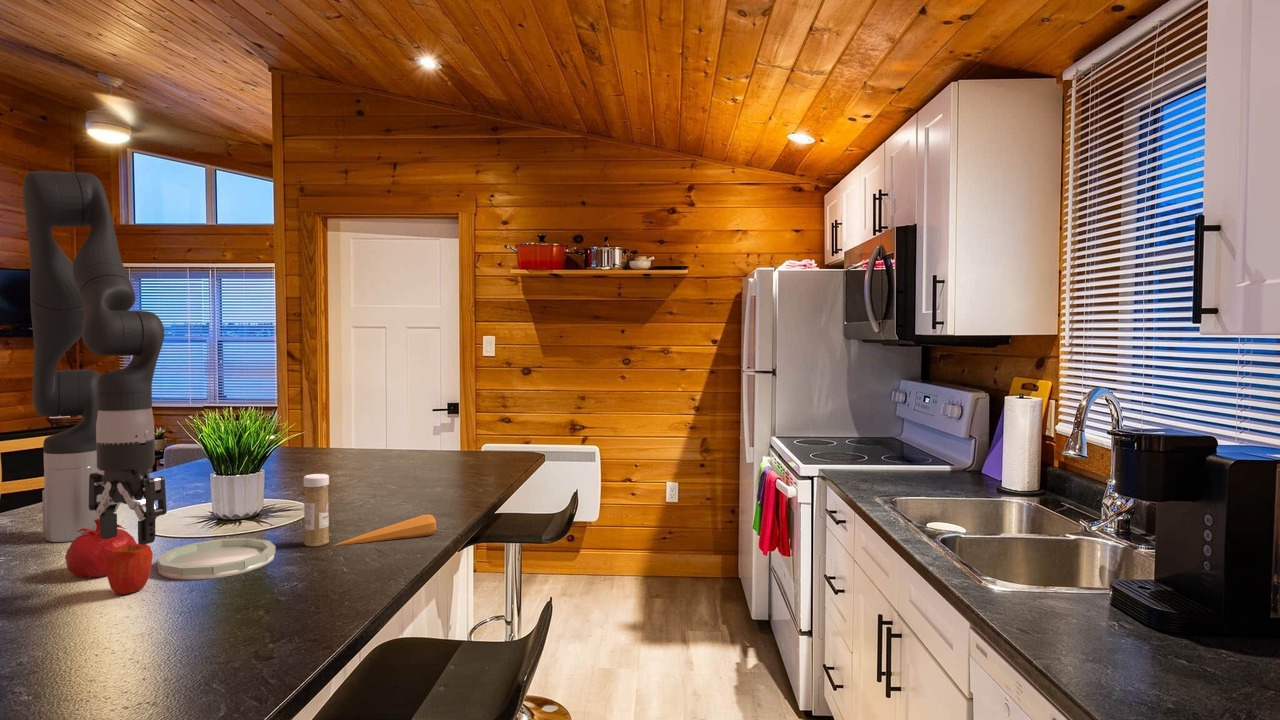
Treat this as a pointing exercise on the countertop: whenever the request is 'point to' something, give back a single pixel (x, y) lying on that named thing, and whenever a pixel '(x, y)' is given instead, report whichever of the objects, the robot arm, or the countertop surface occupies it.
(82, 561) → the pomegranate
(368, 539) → the carrot
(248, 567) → the dish
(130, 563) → the apple
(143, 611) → the countertop surface
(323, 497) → the spice jar
